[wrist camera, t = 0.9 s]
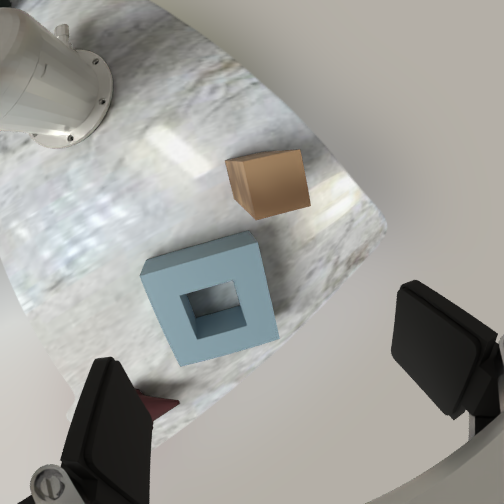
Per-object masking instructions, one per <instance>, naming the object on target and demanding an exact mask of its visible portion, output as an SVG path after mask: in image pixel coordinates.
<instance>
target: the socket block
mask: <svg viewBox="0 0 504 504" xmlns="http://www.w3.org/2000/svg"><path fill="white" fill-rule="evenodd" d="M140 278H141V281H142V283H143V286H144V288H145V291H146V293H147V295H148V298H149V300H150V303H151V305H152V307H153V310H154V312H155V314H156V316H157V319H158V321H159V323H160V325H161V328H162V330H163V332H164V334H165V336H166V338H167V340H168V343H169V345H170V347H171V349H172V351H173V353H174V355H175V357H176V359H177V361H178V363H179V365H180V366H185V365H189V364H193V363H197V362H201V361H205V360H209V359H213V358H216V357H220V356H224V355H227V354H231V353H234V352H238V351H241V350H245V349H248V348H252V347H255V346H258V345H261V344H265V343H268V342H271V341H274V340H277V339H280V338H279V334H278V329H277V325H276V320H275V316H274V312H273V307H272V303H271V298H270V294H269V289H268V285H267V280H266V276H265V272H264V267H263V263H262V258H261V254H260V250H259V245H258V242H257V241H256V239H255V238H254V237H253V235H252V234H251V233H250V232H249V231H245V232H242V233H238V234H234V235H231V236H227V237H224V238H220V239H217V240H213V241H210V242H206V243H203V244H199V245H196V246H192V247H189V248H185V249H182V250H178V251H175V252H171V253H168V254H165V255H161V256H158V257H155V258H151V259H148V260H146V262H145V264H144V267H143V269H142V272H141V274H140ZM229 281H233V282H234V285H235V289H236V292H237V296H238V299H239V303H240V306H237V307H233V308H230V309H226V310H223V311H219V312H216V313H212V314H209V315H205V316H202V317H198V318H195V315H194V313H193V310H192V307H191V305H190V302H189V299H188V296H187V293H190V292H194V291H198V290H201V289H205V288H208V287H212V286H215V285H219V284H222V283H226V282H229Z"/></svg>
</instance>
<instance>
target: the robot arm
mask: <svg viewBox="0 0 504 504" xmlns="http://www.w3.org/2000/svg"><path fill="white" fill-rule="evenodd" d="M68 38H69V26H68V25H67V24H62V25H59V26H57V27H56V28H55V29H54V35H53V34H52V33H51V32H50V31H48V30H47V29H46V28H45V27H44V26H42V25H41V24H40V23H39V22H37V21H36V20H35V19H34V18H33V17H32V16H30V15H29V14H28V13H26V12H25V11H22V10H20V9H16V8H6V7H2V8H0V131H7V132H21V133H28V134H29V135H30V136H31V138H32V139H33V140H34V141H35V142H36V143H38V144H39V145H41V146H44V147H46V148H52V149H61V148H66V147H70V146H72V145H75V144H77V143H79V142H81V141H82V140H84V139H85V138H86V137H88V136H89V135H90V134H91V133H92V132H93V131H94V130H95V129H96V128H97V127H98V125H99V124H100V123H101V121H102V120H103V118H104V116H105V115H106V112H107V110H108V108H109V106H110V102H111V99H112V93H113V78H112V74H111V71H110V69H109V67H108V65H107V63H106V62H105V61H104V60H103V59H102V58H101V57H100V56H98V55H97V54H96V53H93V52H91V51H87V50H74V49H72V44H71V43H69V39H68ZM98 62H99V63H98ZM96 63H98V64H97V65H96ZM103 101H105V104H102V103H103ZM37 134H38V135H37ZM72 137H74V139H73V141H72ZM497 335H498V334H497V333H496V332H495V331H493V330H492V329H490V328H489V327H488V326H486V325H485V324H483V323H482V322H480V321H479V320H478V319H476V318H475V317H473V316H472V315H470V314H469V313H467V312H466V311H464V310H463V309H461V308H460V307H458V306H457V305H455V304H454V303H452V302H451V301H449V300H448V299H446V298H445V297H443V296H442V295H440V294H438V293H437V292H435V291H434V290H432V289H431V288H429V287H428V286H426V285H424V284H423V283H421V282H420V281H418V280H413V281H410V282H407V283H405V284H402V285H401V287H400V290H399V291H398V292H397V301H396V313H395V322H394V332H393V339H392V346H391V354H392V356H393V358H394V359H395V361H396V362H397V363H398V364H399V365H400V366H401V367H402V368H403V369H404V370H405V371H406V372H407V373H408V375H409V376H410V377H411V378H412V379H413V380H414V381H415V382H416V383H417V384H418V385H419V387H420V388H421V389H422V390H423V391H424V392H425V393H426V394H427V395H428V397H429V398H430V399H431V400H432V401H433V402H434V403H435V404H436V405H437V407H438V408H439V409H440V410H441V411H442V412H443V413H444V414H445V415H449V416H450V417H451V418H452V419H453V420H455V419H456V418H458V417H459V416H460V415H461V414H463V413H464V412H465V410H467V411H468V412H469V441H468V442H467V443H466V444H465V445H463V446H462V447H460V448H459V449H458V450H456V451H455V452H454V453H452V454H451V455H450V456H448V457H447V458H445V459H444V460H442V461H441V462H439V463H438V464H436V465H435V466H433V467H432V468H430V469H429V470H427V471H426V472H424V473H422V474H421V475H419V476H417V477H416V478H414V479H412V480H411V481H409V482H407V483H405V484H403V485H402V486H400V487H398V488H396V489H394V490H392V491H390V492H388V493H386V494H384V495H382V496H380V497H378V498H376V499H374V500H372V501H370V502H367V503H365V504H504V335H503V336H502V337H501V338H500V341H499V344H498V343H496V342H495V341H496V338H497ZM152 425H153V423H152V417H151V415H150V413H149V412H148V410H147V408H146V407H145V405H144V404H143V402H142V400H141V399H140V397H139V395H138V394H137V392H136V390H135V388H134V387H133V385H132V383H131V381H130V380H129V378H128V376H127V374H126V372H125V371H124V369H123V367H122V365H121V363H120V362H119V361H115V360H114V358H112V357H105V358H98V359H95V360H94V362H93V364H92V367H91V369H90V372H89V374H88V377H87V380H86V382H85V385H84V388H83V390H82V393H81V396H80V399H79V401H78V404H77V407H76V410H75V413H74V416H73V419H72V422H71V425H70V428H69V432H68V435H67V438H66V442H65V445H64V449H63V452H62V456H61V459H60V460H61V461H62V464H61V467H59V466H57V465H53V464H50V465H45V466H42V467H40V468H39V469H38V470H37V471H36V472H35V473H34V474H33V476H32V478H31V481H30V490H31V494H32V495H30V496H29V497H27V498H26V499H24V500H23V501H21V502H19V503H18V504H149V489H150V485H149V484H150V457H151V439H152Z"/></svg>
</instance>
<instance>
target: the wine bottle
mask: <svg viewBox="0 0 504 504" xmlns="http://www.w3.org/2000/svg"><path fill="white" fill-rule="evenodd" d="M2 7H6V8H11V3H10V2H9V1H8V0H0V8H2Z"/></svg>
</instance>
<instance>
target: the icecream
mask: <svg viewBox="0 0 504 504" xmlns="http://www.w3.org/2000/svg"><path fill="white" fill-rule="evenodd" d="M135 390H136V392H137V394H138V395H139V397H140V399H141V400H142V402H143V404H144V405H145V407H146V408H147V410H148V412H149V413H150V415H151V417H152V423H153V421H154V420H156V419H157V418H159V417H160V416H162V415H163V414H165V413H166V412H168V411H169V410H171V409H173V408H174V407H176V406H177V405H178V404H180V402H179V400H173V399H164V398H158V397H151V396H145V395H143V394H142V393H141V392H140V391H139V390H138V389H135ZM152 430H153V425H152Z"/></svg>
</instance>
